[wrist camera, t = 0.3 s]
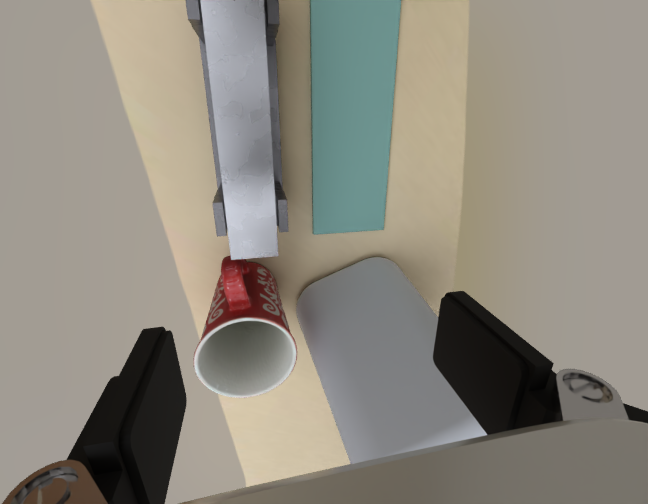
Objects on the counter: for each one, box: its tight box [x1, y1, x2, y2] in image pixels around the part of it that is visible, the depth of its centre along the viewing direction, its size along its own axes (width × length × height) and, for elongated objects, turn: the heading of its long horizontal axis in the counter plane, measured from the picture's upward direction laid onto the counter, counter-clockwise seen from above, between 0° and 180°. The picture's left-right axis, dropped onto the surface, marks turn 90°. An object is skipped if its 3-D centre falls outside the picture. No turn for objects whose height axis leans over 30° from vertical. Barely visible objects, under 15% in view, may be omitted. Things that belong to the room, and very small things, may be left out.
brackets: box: [186, 0, 288, 236], centre depth 30 cm, size 20×7×9 cm, turn 0°
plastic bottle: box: [296, 257, 487, 464], centre depth 33 cm, size 15×15×28 cm
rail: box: [200, 0, 278, 260], centre depth 26 cm, size 22×4×4 cm, turn 0°
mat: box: [310, 0, 401, 235], centre depth 36 cm, size 26×9×1 cm, turn 0°
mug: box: [194, 256, 297, 398], centre depth 34 cm, size 13×9×14 cm
